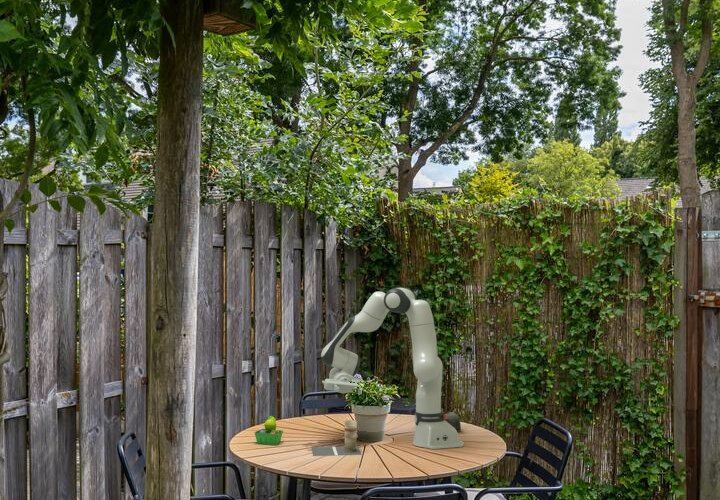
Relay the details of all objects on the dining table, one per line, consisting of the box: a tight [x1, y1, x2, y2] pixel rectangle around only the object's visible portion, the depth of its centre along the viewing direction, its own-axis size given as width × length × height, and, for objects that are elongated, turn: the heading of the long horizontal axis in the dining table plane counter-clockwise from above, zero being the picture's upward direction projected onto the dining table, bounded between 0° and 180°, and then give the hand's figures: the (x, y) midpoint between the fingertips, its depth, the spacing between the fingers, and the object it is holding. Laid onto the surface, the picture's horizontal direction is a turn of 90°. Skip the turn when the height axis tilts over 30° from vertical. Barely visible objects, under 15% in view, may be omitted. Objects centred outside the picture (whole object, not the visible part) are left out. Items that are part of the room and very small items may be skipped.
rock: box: [444, 411, 462, 432], centre depth 316 cm, size 18×11×8 cm, turn 8°
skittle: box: [343, 419, 358, 452], centre depth 270 cm, size 5×5×12 cm
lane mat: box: [311, 445, 363, 457], centre depth 268 cm, size 20×14×1 cm
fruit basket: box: [254, 415, 284, 446], centre depth 287 cm, size 11×9×11 cm
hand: (349, 391), depth 281 cm, fingers open, 8 cm apart
